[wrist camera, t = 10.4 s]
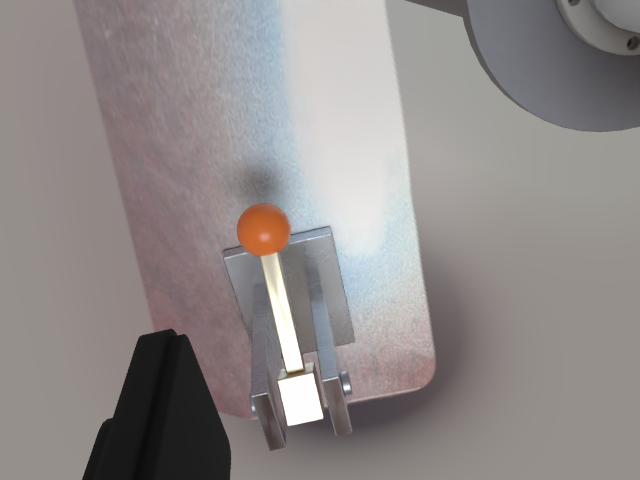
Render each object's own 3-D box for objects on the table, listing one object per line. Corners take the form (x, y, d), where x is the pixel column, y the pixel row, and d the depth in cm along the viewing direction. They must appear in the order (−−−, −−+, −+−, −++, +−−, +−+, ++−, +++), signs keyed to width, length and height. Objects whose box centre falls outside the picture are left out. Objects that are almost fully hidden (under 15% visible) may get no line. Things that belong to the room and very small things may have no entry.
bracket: (223, 250, 40) (209, 364, 29) (330, 226, 40) (357, 330, 29) (257, 354, 45) (256, 488, 34) (353, 333, 45) (384, 459, 34)
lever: (236, 210, 34) (227, 209, 31) (286, 199, 34) (282, 196, 31) (282, 412, 35) (278, 431, 31) (331, 401, 35) (332, 419, 31)
